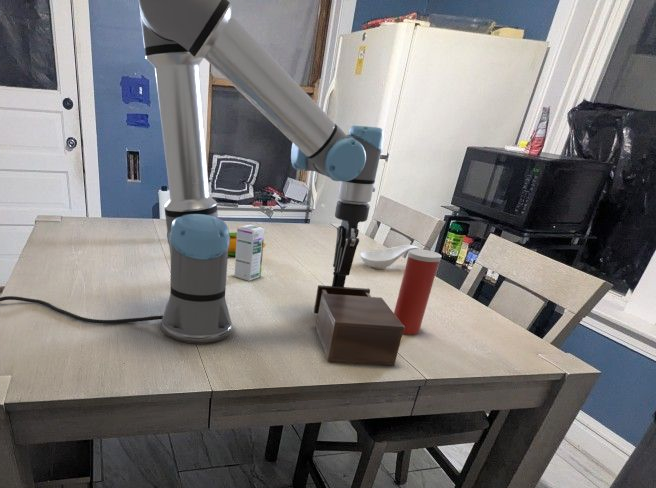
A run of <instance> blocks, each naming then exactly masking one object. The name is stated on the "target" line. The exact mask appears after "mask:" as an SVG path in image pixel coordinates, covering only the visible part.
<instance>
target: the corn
mask: <svg viewBox="0 0 656 488" xmlns="http://www.w3.org/2000/svg"><path fill="white" fill-rule="evenodd" d="M229 237H230V244H229V247H228V257H231V256H233V257H236V241H237V232H229ZM266 246H267V244H266V243H265V242H264V243H263V249H264V248H266Z"/></svg>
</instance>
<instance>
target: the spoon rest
mask: <svg viewBox="0 0 656 488" xmlns="http://www.w3.org/2000/svg"><path fill="white" fill-rule="evenodd" d="M412 249H420V247H418V246H416V245H412V244H403V245H397V246H393V247H388V248H382V249H372V250H371V249H370V250H365V251H362V252H360V254H359V258H360V260H361V261H362V262H363V264H365V265H366V266H367V267H369V268H372V269H376V270H384V269H387V268H388V267H390V266H392V265H393V264H394V263H395V262H396V261H397V260H399V259H400V258H401V257H402V256H403V255H404V254H406V253H408V252H409V250H412Z"/></svg>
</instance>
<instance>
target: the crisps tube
mask: <svg viewBox="0 0 656 488" xmlns="http://www.w3.org/2000/svg"><path fill="white" fill-rule="evenodd" d="M441 259H442V254H440V253H439V252H436V251H432V250H427V249H422V248H419V249H412V250H409V251H408V252H407V259H406V262H405V263H406V264H405V268H404V272H403V276H402V280H401V284H400V286H399V288H400V289H399V291H398V295H397V299H396V303H395V307H394V311H393V313H394V314H395V316H396V317H397V318H398V319H399V321H400V322H401V323H402V325H403V326H404V330H403V334H402V335H407V336H409V335H410V336H412V335H413V336H414V335H418V334H419V333H420V330H421V327H422V323H423V319H424V317H425V312H426V309H427V306H428V302H429V298H430V295H431V291H432V287H433V285H434V281H435V277H436V274H437V271H438V266H439V264H440V261H441Z"/></svg>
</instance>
